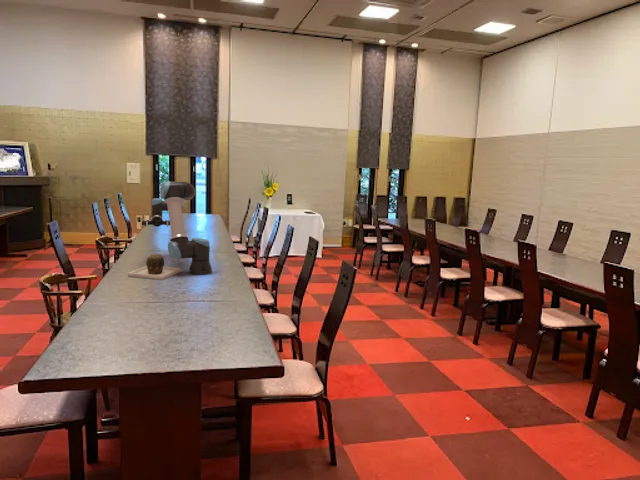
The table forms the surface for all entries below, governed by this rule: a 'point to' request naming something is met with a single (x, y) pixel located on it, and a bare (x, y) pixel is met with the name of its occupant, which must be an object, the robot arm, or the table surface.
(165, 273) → the tray
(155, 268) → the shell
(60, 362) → the table surface
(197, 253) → the robot arm
